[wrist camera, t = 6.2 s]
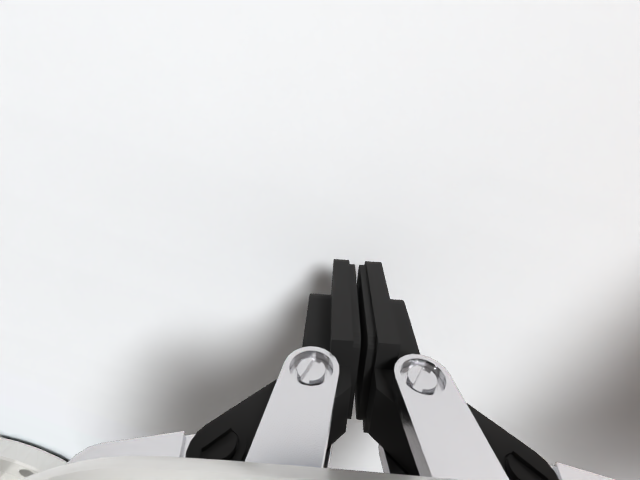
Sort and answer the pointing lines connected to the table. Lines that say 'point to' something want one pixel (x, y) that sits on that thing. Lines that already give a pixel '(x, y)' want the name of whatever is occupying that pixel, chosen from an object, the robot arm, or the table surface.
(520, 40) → the table surface
